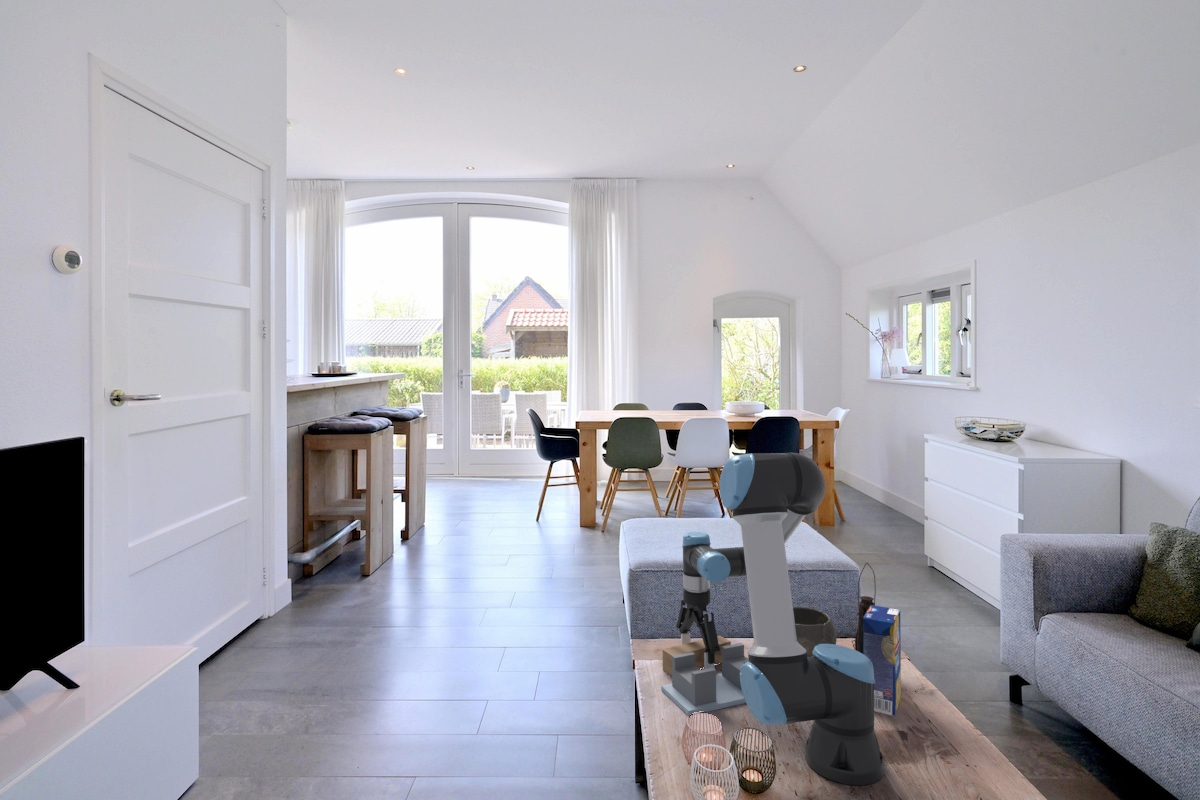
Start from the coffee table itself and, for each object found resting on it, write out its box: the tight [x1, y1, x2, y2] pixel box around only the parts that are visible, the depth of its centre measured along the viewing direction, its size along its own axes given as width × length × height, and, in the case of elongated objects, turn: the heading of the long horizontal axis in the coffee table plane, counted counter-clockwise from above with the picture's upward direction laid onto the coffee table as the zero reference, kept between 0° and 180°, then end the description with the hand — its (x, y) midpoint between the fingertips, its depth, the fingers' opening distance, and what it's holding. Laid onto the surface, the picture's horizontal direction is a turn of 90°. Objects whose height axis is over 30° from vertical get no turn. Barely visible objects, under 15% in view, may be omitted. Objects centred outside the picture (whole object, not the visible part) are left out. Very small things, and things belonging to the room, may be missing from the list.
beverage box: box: [863, 604, 902, 717], centre depth 155 cm, size 7×11×22 cm, turn 148°
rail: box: [662, 635, 732, 677], centre depth 177 cm, size 20×5×6 cm, turn 119°
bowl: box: [793, 606, 837, 657], centre depth 181 cm, size 18×18×13 cm
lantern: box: [851, 562, 877, 654], centre depth 171 cm, size 8×8×30 cm
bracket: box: [660, 642, 749, 717], centre depth 161 cm, size 14×26×9 cm, turn 112°
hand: (697, 664), depth 177 cm, fingers open, 12 cm apart
